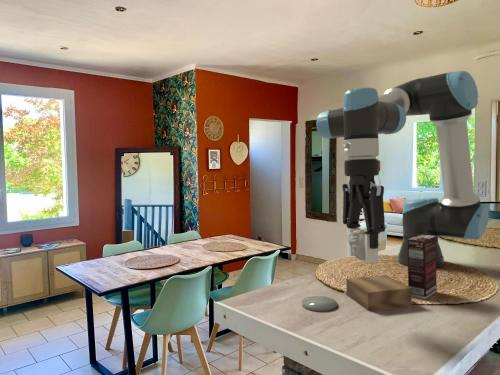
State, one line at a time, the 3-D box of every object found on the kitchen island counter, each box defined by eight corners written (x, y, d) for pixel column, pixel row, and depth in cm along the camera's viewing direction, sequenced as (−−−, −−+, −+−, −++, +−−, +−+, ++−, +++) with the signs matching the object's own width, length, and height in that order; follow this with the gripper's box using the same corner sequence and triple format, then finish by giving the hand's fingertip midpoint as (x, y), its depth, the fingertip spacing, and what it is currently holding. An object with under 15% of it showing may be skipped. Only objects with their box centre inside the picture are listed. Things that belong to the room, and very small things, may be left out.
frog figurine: (352, 255, 92) (351, 227, 92) (381, 258, 88) (381, 228, 88) (343, 261, 87) (342, 231, 87) (374, 265, 83) (373, 233, 83)
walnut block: (385, 292, 109) (385, 275, 108) (411, 307, 97) (411, 287, 97) (346, 296, 106) (346, 278, 106) (368, 312, 94) (368, 292, 94)
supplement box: (419, 288, 110) (419, 234, 109) (437, 292, 106) (437, 235, 105) (406, 296, 104) (406, 238, 103) (425, 300, 100) (424, 240, 99)
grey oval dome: (327, 297, 105) (327, 294, 105) (343, 308, 96) (343, 305, 96) (296, 301, 103) (296, 298, 103) (310, 313, 94) (310, 310, 94)
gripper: (326, 159, 95) (328, 251, 96) (370, 157, 76) (372, 271, 77) (353, 159, 97) (355, 248, 98) (403, 156, 78) (404, 267, 79)
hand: (363, 258), depth 88 cm, fingers closed on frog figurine, 6 cm apart
